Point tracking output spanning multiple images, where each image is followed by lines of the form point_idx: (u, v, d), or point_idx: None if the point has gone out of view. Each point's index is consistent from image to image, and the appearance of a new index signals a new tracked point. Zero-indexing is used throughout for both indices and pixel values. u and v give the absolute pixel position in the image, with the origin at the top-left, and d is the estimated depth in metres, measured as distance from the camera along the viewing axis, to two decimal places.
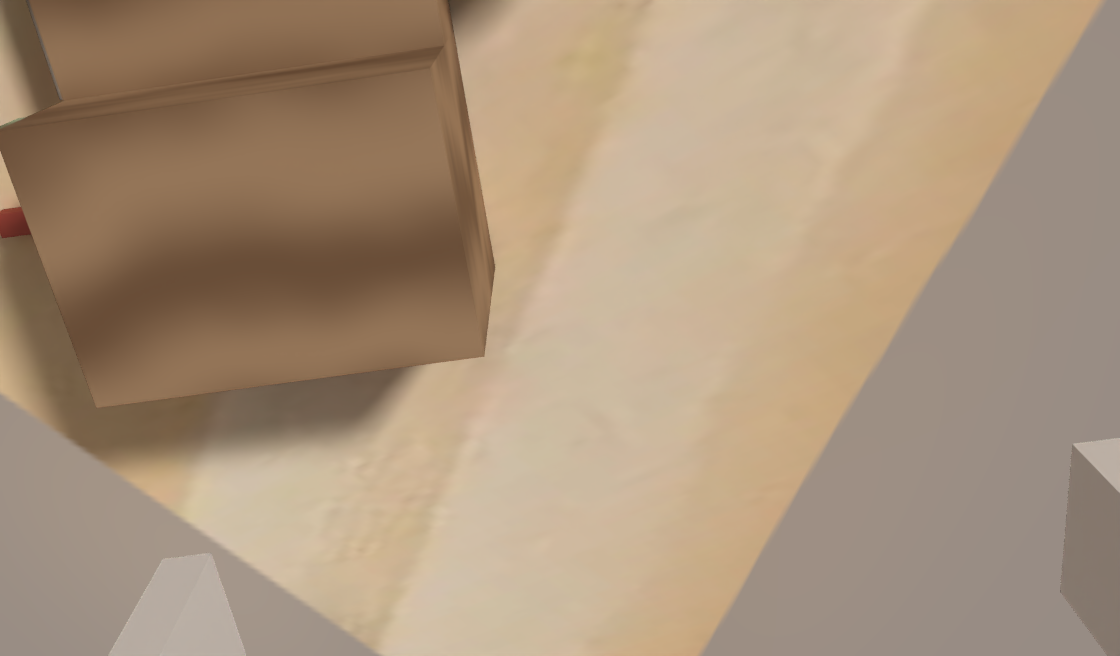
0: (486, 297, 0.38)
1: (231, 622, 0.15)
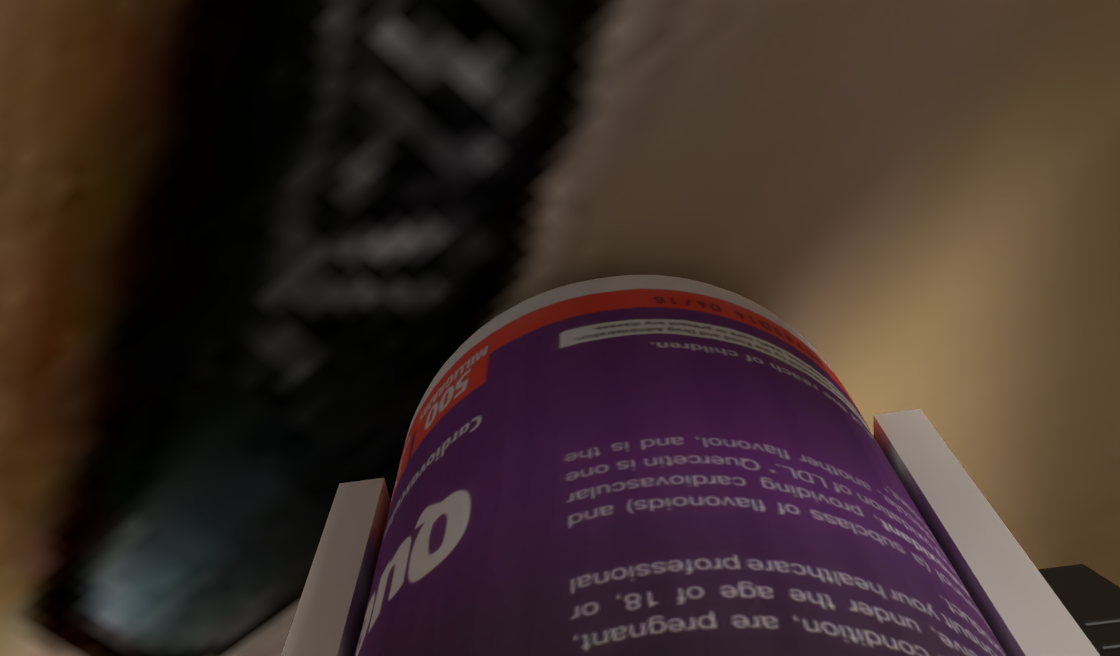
0: None
1: None
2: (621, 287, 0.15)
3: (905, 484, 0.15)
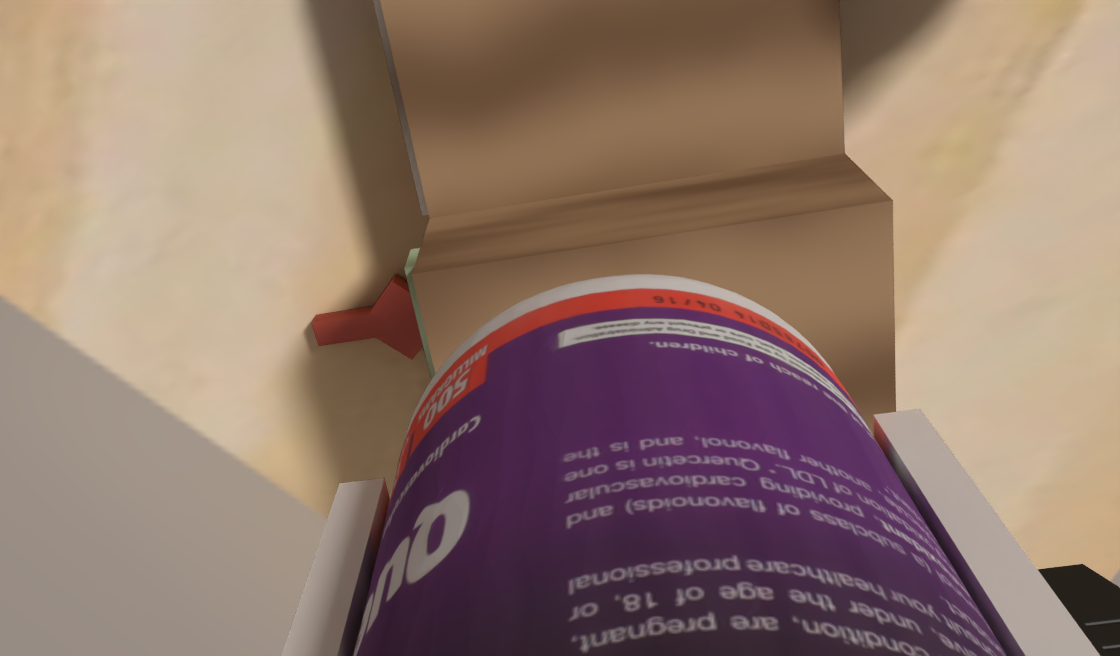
0: None
1: None
2: (620, 286, 0.15)
3: (905, 484, 0.15)
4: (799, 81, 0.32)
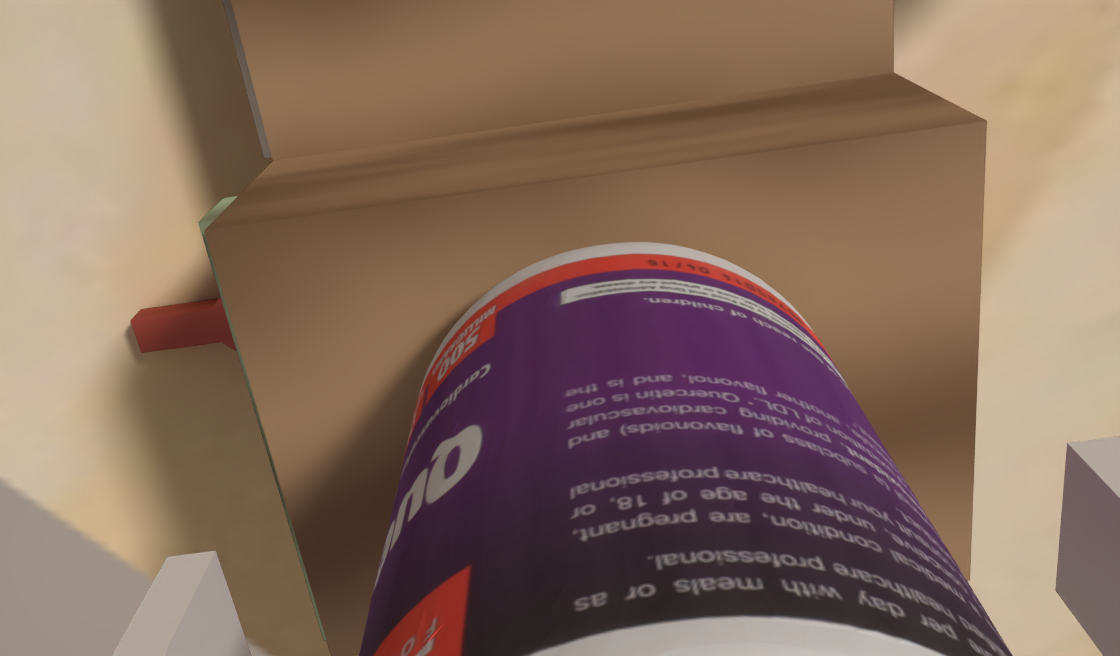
0: None
1: (235, 620, 0.16)
2: (618, 252, 0.17)
3: None
4: None
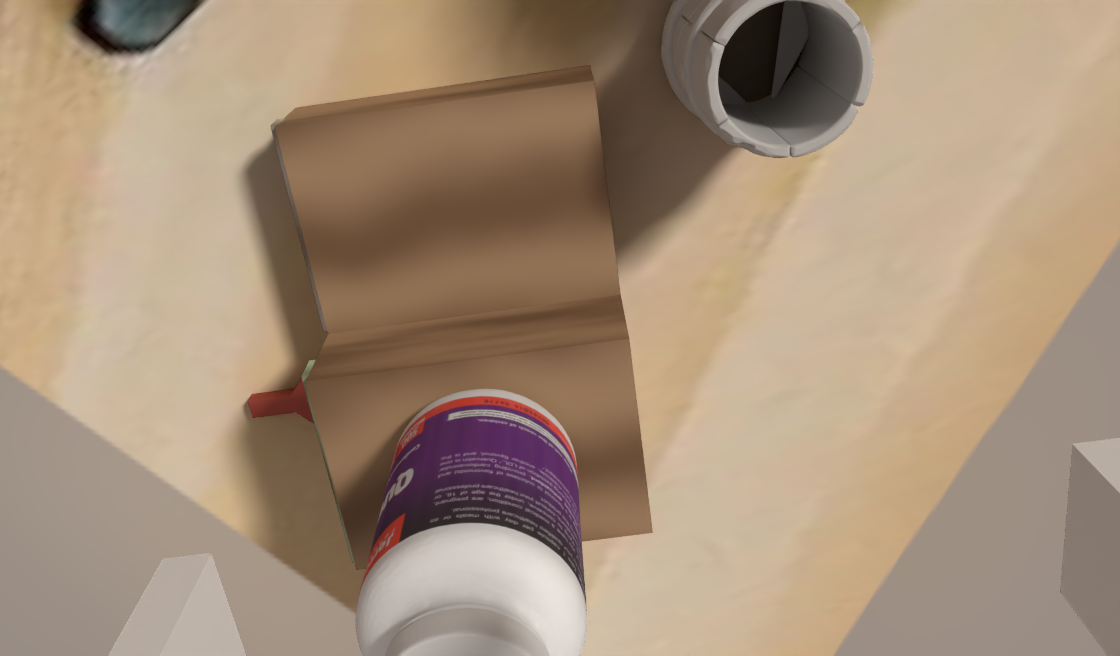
0: None
1: (231, 622, 0.15)
2: (474, 395, 0.41)
3: None
4: (584, 247, 0.46)
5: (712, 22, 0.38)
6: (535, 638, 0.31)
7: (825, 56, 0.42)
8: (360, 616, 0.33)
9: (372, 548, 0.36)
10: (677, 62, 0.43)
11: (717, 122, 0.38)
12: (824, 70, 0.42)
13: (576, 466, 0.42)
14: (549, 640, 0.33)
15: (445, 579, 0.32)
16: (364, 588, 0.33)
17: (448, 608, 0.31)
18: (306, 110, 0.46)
